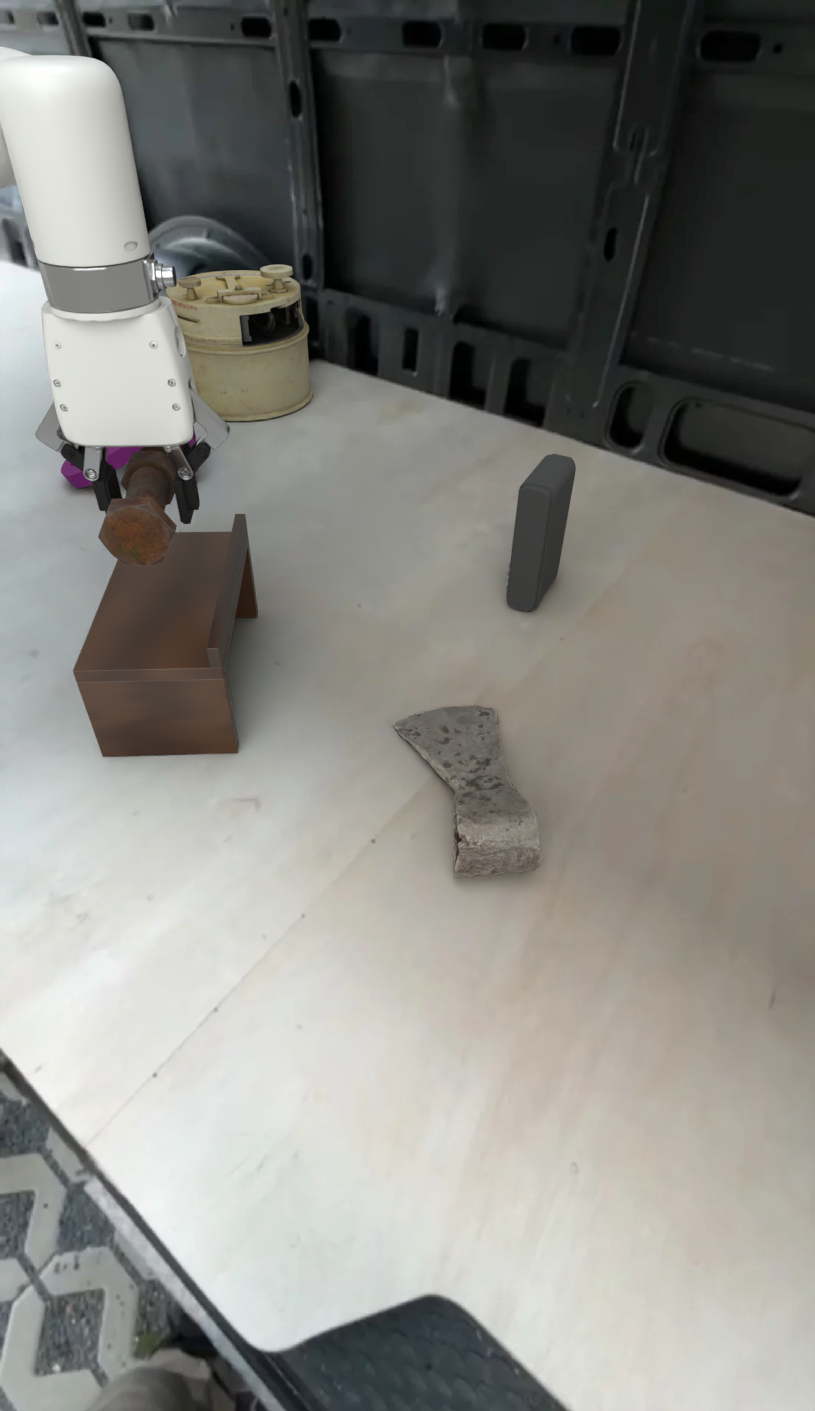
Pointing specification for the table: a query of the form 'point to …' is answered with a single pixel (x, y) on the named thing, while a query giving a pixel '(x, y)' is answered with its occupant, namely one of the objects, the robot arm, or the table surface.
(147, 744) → the shelf
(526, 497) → the card reader
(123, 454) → the mounting bracket
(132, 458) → the bolt
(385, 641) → the table surface
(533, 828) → the axe head
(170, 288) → the mechanical device
